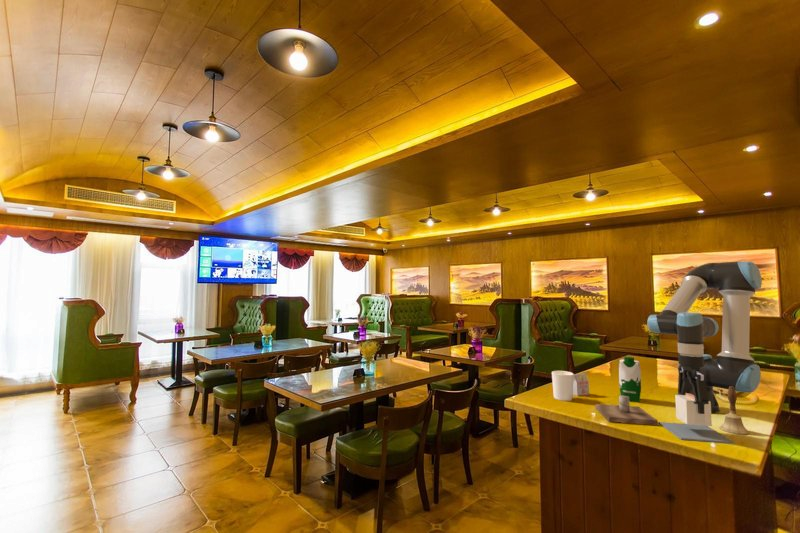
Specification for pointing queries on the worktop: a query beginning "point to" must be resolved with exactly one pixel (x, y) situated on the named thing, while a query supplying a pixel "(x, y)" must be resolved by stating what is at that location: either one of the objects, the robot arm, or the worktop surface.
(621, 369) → the milk carton
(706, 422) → the white cubic block
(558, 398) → the candle holder
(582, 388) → the tea bag
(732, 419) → the hand bell
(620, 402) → the post stand
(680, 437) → the mat
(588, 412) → the worktop surface
